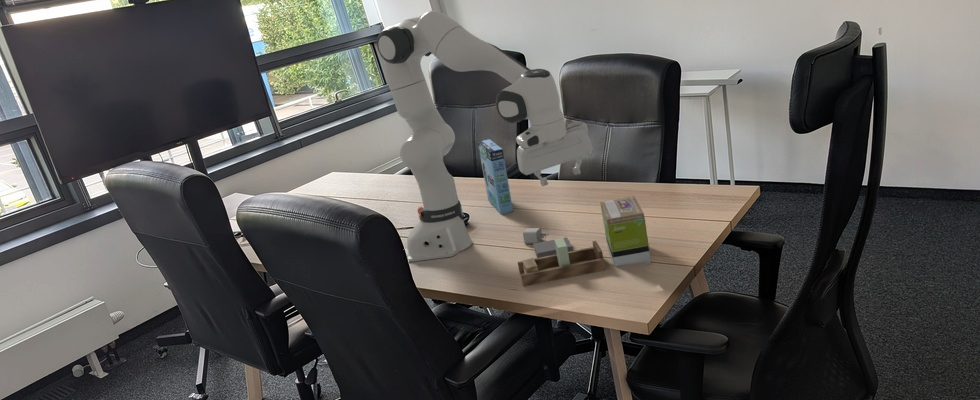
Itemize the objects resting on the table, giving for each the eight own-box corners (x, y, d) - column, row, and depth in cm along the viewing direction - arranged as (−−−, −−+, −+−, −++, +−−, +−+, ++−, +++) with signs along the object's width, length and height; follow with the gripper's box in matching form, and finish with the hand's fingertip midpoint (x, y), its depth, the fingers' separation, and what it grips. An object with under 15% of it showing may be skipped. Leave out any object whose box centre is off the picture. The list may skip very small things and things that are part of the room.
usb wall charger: (529, 239, 231) (527, 227, 230) (550, 239, 228) (548, 227, 226) (524, 244, 227) (522, 232, 226) (545, 244, 224) (543, 232, 223)
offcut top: (527, 275, 197) (526, 268, 196) (523, 267, 202) (522, 260, 202) (538, 272, 197) (537, 265, 196) (534, 264, 203) (533, 258, 202)
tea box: (606, 250, 211) (599, 200, 207) (642, 244, 210) (635, 194, 206) (614, 270, 197) (606, 218, 193) (652, 264, 196) (645, 211, 192)
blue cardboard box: (488, 201, 277) (476, 141, 271) (501, 197, 278) (490, 138, 271) (500, 215, 259) (488, 151, 252) (514, 211, 260) (503, 148, 253)
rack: (523, 289, 196) (520, 268, 194) (520, 275, 205) (516, 255, 204) (606, 273, 196) (602, 252, 194) (598, 259, 205) (595, 239, 204)
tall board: (562, 275, 197) (557, 247, 195) (558, 266, 203) (554, 239, 201) (571, 273, 197) (566, 246, 195) (567, 264, 203) (562, 237, 201)
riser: (538, 263, 211) (536, 253, 210) (535, 253, 219) (533, 243, 218) (573, 256, 211) (571, 246, 210) (568, 246, 219) (566, 237, 218)
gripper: (581, 117, 200) (591, 165, 204) (510, 140, 196) (522, 188, 201) (590, 120, 194) (600, 170, 198) (517, 144, 190) (529, 194, 195)
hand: (561, 179), depth 199 cm, fingers open, 8 cm apart
